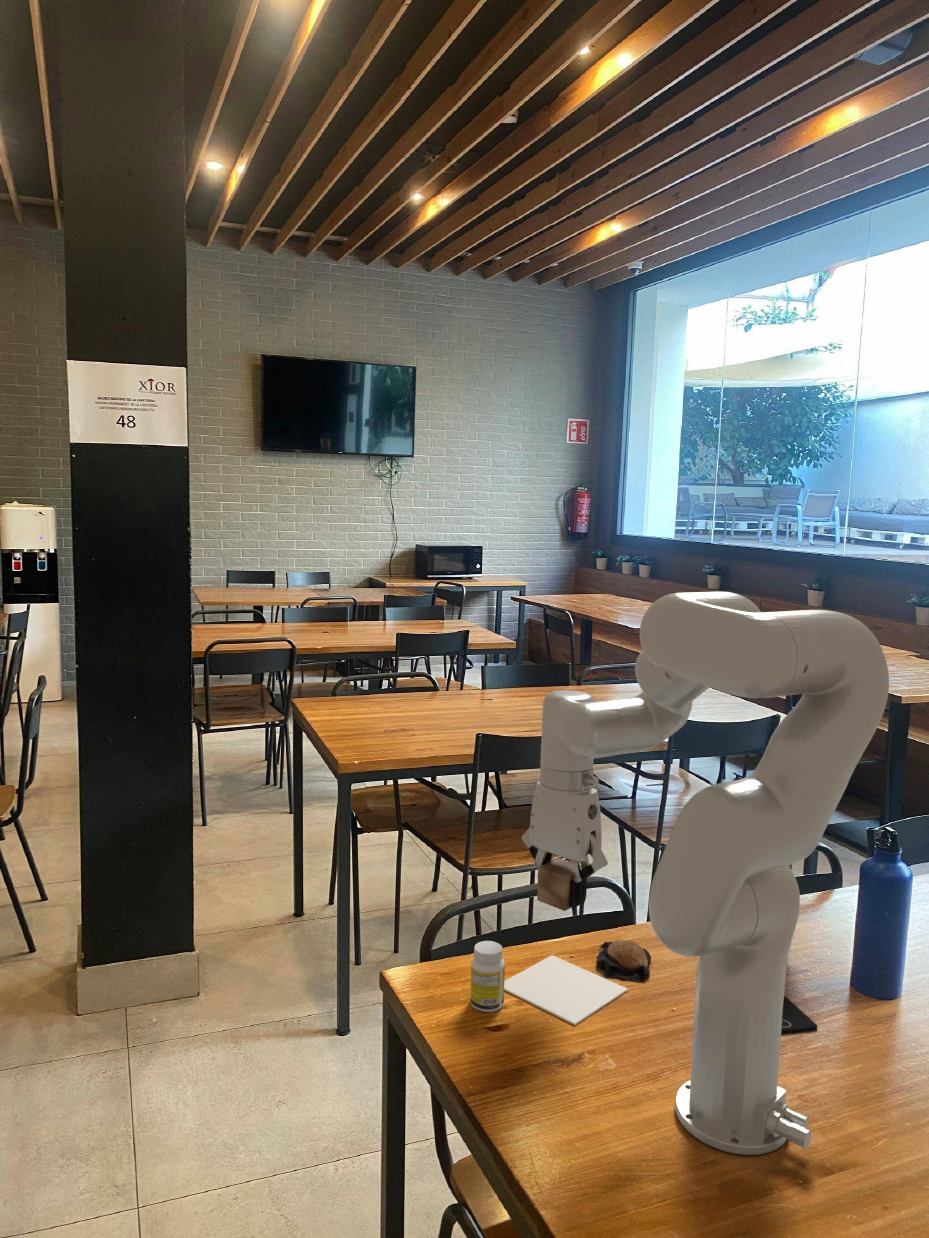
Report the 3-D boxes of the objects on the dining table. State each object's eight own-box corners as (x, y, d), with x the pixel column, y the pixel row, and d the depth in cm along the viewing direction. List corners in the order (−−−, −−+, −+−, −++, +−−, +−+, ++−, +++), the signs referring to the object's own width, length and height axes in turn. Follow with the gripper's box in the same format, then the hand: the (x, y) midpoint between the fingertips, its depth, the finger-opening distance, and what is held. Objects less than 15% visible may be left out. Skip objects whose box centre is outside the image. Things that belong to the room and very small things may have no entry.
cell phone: (760, 1039, 119) (760, 1032, 119) (696, 972, 137) (696, 966, 136) (818, 1032, 121) (819, 1026, 121) (748, 967, 139) (748, 962, 138)
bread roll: (596, 948, 144) (597, 926, 144) (649, 953, 143) (650, 931, 142) (595, 981, 134) (596, 957, 133) (653, 987, 132) (654, 963, 132)
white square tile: (627, 990, 130) (627, 988, 130) (574, 1025, 121) (575, 1023, 121) (551, 956, 140) (551, 954, 139) (497, 986, 130) (497, 984, 130)
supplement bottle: (484, 991, 129) (485, 935, 128) (510, 1003, 126) (512, 946, 125) (463, 1004, 125) (464, 947, 124) (489, 1017, 122) (491, 958, 121)
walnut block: (585, 900, 130) (586, 867, 129) (564, 911, 126) (566, 877, 126) (558, 890, 133) (559, 858, 133) (537, 900, 129) (538, 867, 129)
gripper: (631, 785, 124) (625, 909, 127) (536, 760, 136) (531, 874, 138) (600, 796, 119) (594, 926, 121) (504, 769, 131) (500, 888, 133)
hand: (561, 897), depth 130 cm, fingers closed on walnut block, 5 cm apart
